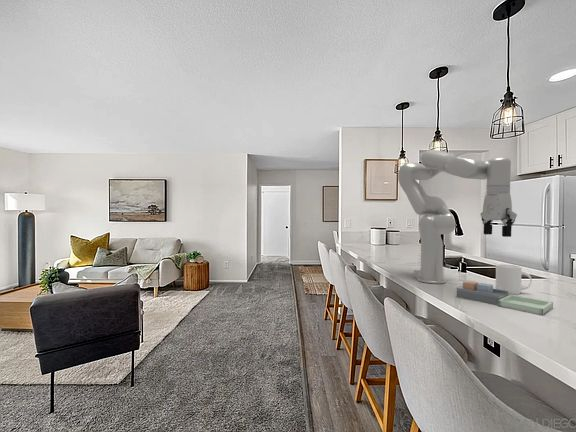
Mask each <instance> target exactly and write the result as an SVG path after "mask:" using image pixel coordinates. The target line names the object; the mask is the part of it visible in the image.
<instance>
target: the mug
mask: <svg viewBox="0 0 576 432" xmlns="http://www.w3.org/2000/svg"><path fill="white" fill-rule="evenodd" d="M523 275H524V276H526V277H528V278H529V284H528V285H527V284H526V285H523V284H522V276H523ZM531 285H532V276H531V275H530V273H528V272H527V271H525V270H523V269H522V266H520V265H515V264H503V263H502V264H501V263H499V264H495V289H499V290H505V291H508V295H519V294H521V292H522V291H523V290H524V291H525V290H527V289H529V288H530V287H531Z"/></svg>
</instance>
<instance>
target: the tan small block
mask: <svg viewBox="0 0 576 432" xmlns="http://www.w3.org/2000/svg"><path fill="white" fill-rule="evenodd" d="M477 284H479V282H478V281H471V280H465V281H463V282H462V288H463V289H468V290H474V291H477Z"/></svg>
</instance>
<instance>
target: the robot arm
mask: <svg viewBox="0 0 576 432" xmlns="http://www.w3.org/2000/svg"><path fill="white" fill-rule="evenodd" d="M420 162H421V163H419V162H406V163H404V164H402V165H401V166H400V168H399V170H398V173H397V179H398V183H399V185H400V187H401V189H402V191H403V192H404V194H405V195H406V198H407V199H408V202H409V203H410V205H411V207H412V209H413V211H414V213H415V214H416V215H419V216H422V217H420V219H419V221H418V229H419V234H420V235H419V236H420V270H417V269H414V270H413V275H415V276H416V275H418V276H417V277H416V279H417V281H418V282H421V283H427V284H435V285H436V284H437V285H439V284H440V285H441V284H442V285H443V284H445V283H447V279H446V278H444V277H443V274H444V272H443V271H444V269H443V268H444V242H443V239H442V236H441V235H448V234H449V235H450V234H451V233H453V232H454V231H455V229H456V220H455V218H454V216H453V214H452V213H451V211H450V209H449V206H448V205H447V204H446V202H445V201H444V200H443V199H442V198H441V197H438V196H431V195H430V196H429V195H428V194H427V193H426V191H425V189H424V188H423V186H422V185H421V184H420V182H417V181H428V180H431V179H433V178H434V177H435V176H437V175H438V174H440V173H441V172H443V173H446V174H449V175H452V176H455V177H459V178H462V179H463V178H464V179H473V180H483V181H484V180H486V192H485V193H486V194H485V195H484V199H483V205H482V212H481V213H480V218H481V221H482V224H483V234H484V235H488V236H489V235H491V236H492V235H493V224H492V223H493V221H501V223H502V226H501V227H502V228H501V236H502V237H505V238H508V237H510V238H511V237H512V227H513V226H514V224H515V222H516V218H517V216H518V214H517V213H516V212H514V211H513V203H512V197H511V172H512V171H511V169H512V166H511V165H512V161H511V159H510V158H507V157H495V158H490V159H488V161H487V160H481V159H472V158H471V159H470V158H465V157H464V158H463V157H459V156H458V155H457V154H456V153H451V152H448V151H444V150H436V149H430V150H429V149H428V150H426V151H424V152H423V153H421V156H420Z"/></svg>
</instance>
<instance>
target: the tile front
mask: <svg viewBox="0 0 576 432" xmlns="http://www.w3.org/2000/svg"><path fill="white" fill-rule="evenodd" d="M493 289H494V284H489V283H483V282H479V283H478V284H477V291H480V292H485V293H493Z"/></svg>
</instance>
